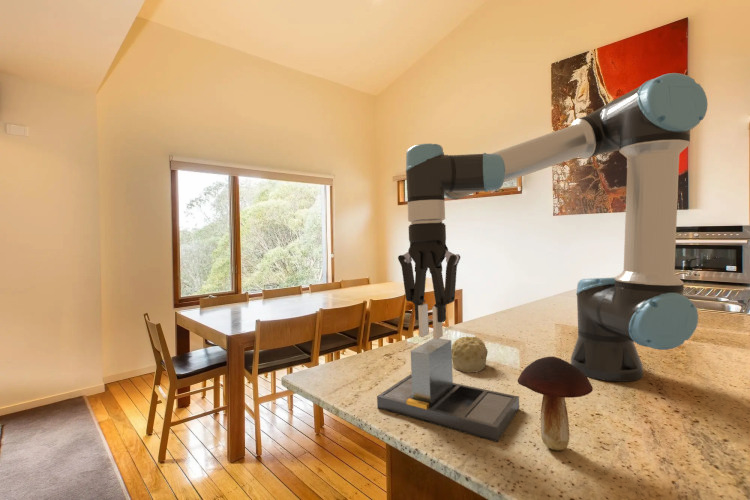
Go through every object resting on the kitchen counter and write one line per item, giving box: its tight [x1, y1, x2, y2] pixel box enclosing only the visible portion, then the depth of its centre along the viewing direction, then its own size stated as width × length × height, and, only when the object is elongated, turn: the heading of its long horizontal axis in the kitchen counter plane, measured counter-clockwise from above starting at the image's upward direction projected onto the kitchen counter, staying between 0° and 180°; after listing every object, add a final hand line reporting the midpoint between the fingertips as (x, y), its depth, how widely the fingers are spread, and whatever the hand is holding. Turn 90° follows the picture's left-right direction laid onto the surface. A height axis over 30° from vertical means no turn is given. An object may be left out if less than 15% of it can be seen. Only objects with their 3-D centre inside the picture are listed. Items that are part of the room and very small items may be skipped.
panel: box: [410, 337, 454, 408], centre depth 78 cm, size 4×10×12 cm, turn 144°
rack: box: [376, 373, 520, 443], centre depth 76 cm, size 25×14×3 cm, turn 54°
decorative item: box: [451, 336, 489, 373], centre depth 100 cm, size 10×10×10 cm
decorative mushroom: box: [517, 356, 594, 451], centre depth 61 cm, size 11×11×15 cm
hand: (431, 336), depth 78 cm, fingers open, 3 cm apart
